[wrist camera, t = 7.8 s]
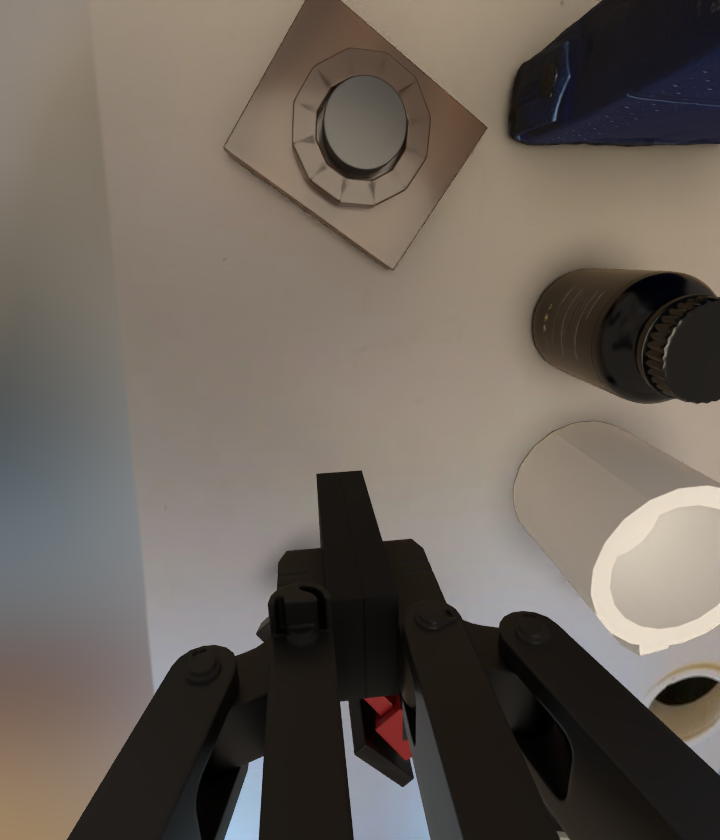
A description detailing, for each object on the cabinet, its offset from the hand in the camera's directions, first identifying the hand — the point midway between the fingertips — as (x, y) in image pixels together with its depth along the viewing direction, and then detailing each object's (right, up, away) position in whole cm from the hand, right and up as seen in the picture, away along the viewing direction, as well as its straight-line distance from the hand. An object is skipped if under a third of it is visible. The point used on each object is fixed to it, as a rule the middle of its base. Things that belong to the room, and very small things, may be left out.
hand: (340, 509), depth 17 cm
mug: (+17, -3, +22) cm, 28 cm away
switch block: (0, +19, +12) cm, 22 cm away
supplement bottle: (+15, +10, +17) cm, 25 cm away
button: (+1, +18, +9) cm, 20 cm away
